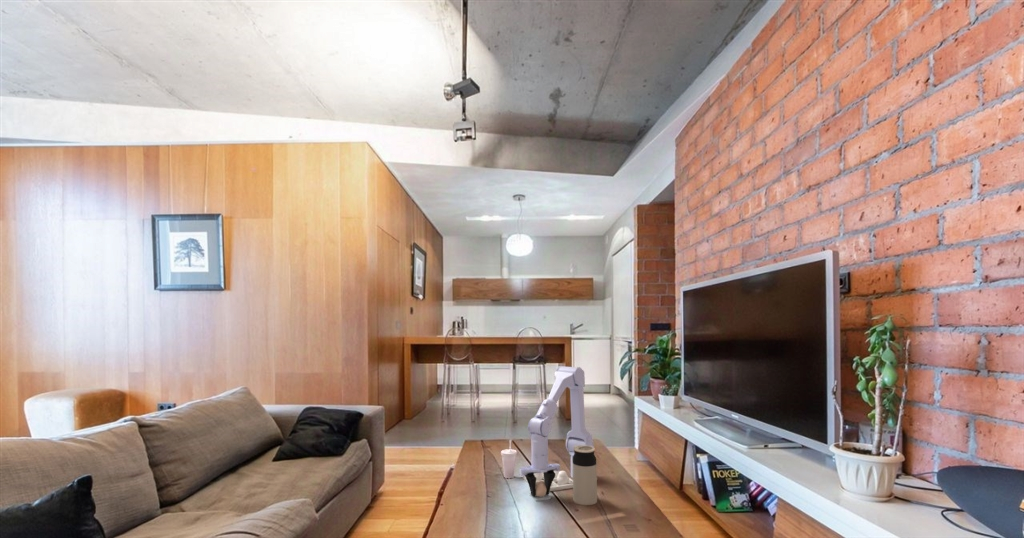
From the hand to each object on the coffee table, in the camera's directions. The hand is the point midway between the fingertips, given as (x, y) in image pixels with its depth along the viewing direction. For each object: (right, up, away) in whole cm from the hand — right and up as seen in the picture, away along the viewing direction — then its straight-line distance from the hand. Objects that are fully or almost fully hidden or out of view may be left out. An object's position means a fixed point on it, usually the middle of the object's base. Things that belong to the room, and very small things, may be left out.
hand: (540, 494), depth 156 cm
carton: (+4, -3, +13) cm, 14 cm away
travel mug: (+15, -2, -3) cm, 15 cm away
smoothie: (-11, -4, +22) cm, 25 cm away
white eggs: (+4, -3, +13) cm, 14 cm away
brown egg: (0, -1, 0) cm, 1 cm away
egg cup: (0, -2, 0) cm, 2 cm away
